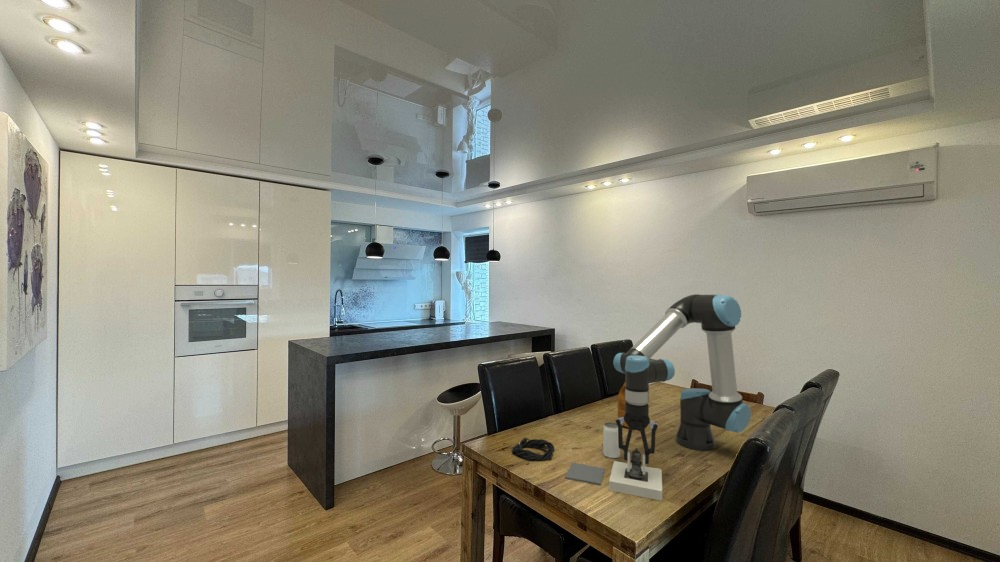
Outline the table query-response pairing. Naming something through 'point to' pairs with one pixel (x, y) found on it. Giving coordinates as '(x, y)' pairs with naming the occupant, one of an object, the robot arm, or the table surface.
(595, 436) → the table surface
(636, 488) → the white square tray
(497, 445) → the table surface
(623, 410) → the coffee package
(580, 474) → the rubber mat
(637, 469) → the grey statuette
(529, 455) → the cable
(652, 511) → the table surface
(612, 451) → the can
